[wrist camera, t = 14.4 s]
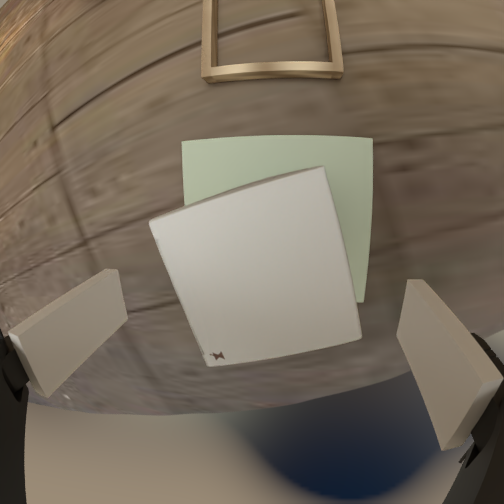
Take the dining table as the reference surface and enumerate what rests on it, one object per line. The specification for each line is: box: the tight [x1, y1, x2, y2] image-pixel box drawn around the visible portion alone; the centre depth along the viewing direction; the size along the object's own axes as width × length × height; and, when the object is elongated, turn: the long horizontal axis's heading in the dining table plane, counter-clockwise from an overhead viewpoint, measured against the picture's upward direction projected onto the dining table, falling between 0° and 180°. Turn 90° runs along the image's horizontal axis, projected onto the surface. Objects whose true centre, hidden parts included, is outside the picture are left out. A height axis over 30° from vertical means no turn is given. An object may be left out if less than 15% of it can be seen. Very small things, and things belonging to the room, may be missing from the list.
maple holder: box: [201, 0, 344, 83], centre depth 22 cm, size 14×15×2 cm
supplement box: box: [149, 166, 362, 367], centre depth 22 cm, size 10×9×17 cm
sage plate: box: [182, 135, 373, 302], centre depth 30 cm, size 20×18×1 cm
